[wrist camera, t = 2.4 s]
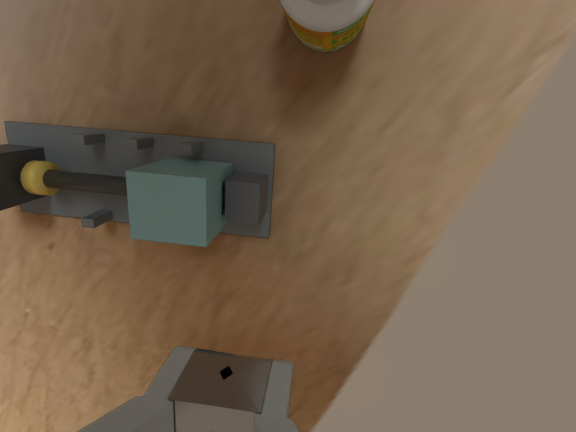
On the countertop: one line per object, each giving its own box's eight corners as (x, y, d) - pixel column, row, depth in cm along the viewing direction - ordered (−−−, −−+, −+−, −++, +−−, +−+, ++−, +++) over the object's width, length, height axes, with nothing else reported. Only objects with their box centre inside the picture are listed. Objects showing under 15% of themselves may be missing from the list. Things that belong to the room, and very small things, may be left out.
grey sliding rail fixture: (8, 121, 27) (-75, 124, 22) (275, 143, 26) (260, 153, 20) (24, 209, 30) (-47, 233, 24) (269, 235, 28) (255, 268, 22)
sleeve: (169, 157, 26) (125, 170, 20) (232, 163, 25) (206, 178, 20) (171, 211, 27) (130, 238, 21) (231, 217, 27) (206, 247, 21)
